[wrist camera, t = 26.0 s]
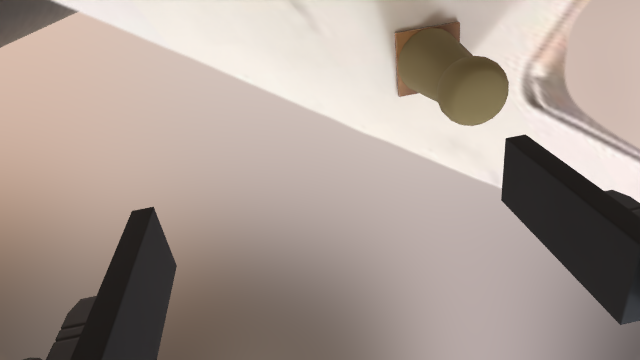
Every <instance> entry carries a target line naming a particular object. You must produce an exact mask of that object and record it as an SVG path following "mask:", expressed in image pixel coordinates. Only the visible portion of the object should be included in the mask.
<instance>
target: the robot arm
mask: <svg viewBox="0 0 640 360" xmlns="http://www.w3.org/2000/svg"><path fill="white" fill-rule="evenodd" d="M501 200H502V201H503V202H504V203H505V204H506V206H507V207H509V209H510V210H511V211H512V212H513V213H514V214H515V215H516V216H517V217H518V218H519V219H520V220H521V221H522V222H523V223H524V224H525V225H526V227H527V228H528V229H529V230H530V231H531V232H532V233H533V234H534V235H535V236H536V237H537V238H538V239H539V240H540V241H541V242H542V243H543V244H544V245H545V246H546V247H547V249H548V250H550V252H551V253H552V254H553V255H554V256H555V257H556V258H557V259H558V260H559V261H560V262H561V263H562V264H563V265H564V266H565V267H566V268H567V269H568V271H570V272H571V274H572V275H573V276H574V277H575V278H576V279H577V280H578V281H579V282H580V283H581V284H582V285H583V286H584V287H585V288H586V289H587V290H588V291H589V292H590V293H591V295H593V297H594V298H595V299H596V300H597V301H598V302H599V303H600V304H601V305H602V306H603V307H604V308H605V309H606V310H607V311H608V312H609V313H610V314H611V316H612V317H613V318H614V319H615V320H616V321H617V322H618V323H619V324H620V325H622V324H626V323H631V322H636V321H640V203H639V202H637V201H636V200H634V199H633V198H631V197H630V196H627V195H624V194H622V193H619V192H617V191H614V190H609V191H603V190H602V189H600V188H599V187H597V186H596V185H595V184H593V183H592V182H591V181H589V180H588V179H586V178H585V177H584V176H582V175H581V174H579V173H578V172H577V171H575V170H574V169H573V168H571V167H570V166H568V165H567V164H566V163H564V162H563V161H561V160H560V159H559V158H557V157H556V156H554V155H553V154H552V153H550V152H549V151H548V150H546V149H545V148H543V147H542V146H541V145H539V144H538V143H536V142H535V141H534V140H532V139H531V138H530V137H528V136H527V135H520V136H515V137H510V138H506V142H505V156H504V170H503V184H502V199H501ZM175 271H176V263H175V260H174V258H173V256H172V253H171V250H170V248H169V245H168V243H167V240H166V237H165V235H164V232H163V230H162V227H161V225H160V222H159V220H158V217H157V215H156V212H155V209H154V207H150V208H145V209H140V210H135V211H132V212H131V215H130V217H129V220H128V222H127V224H126V227H125V229H124V232H123V234H122V236H121V239H120V241H119V244H118V246H117V248H116V251H115V253H114V256H113V258H112V261H111V263H110V265H109V268H108V270H107V273H106V275H105V277H104V280H103V282H102V284H101V287H100V289H99V292H98V294H97V296H94V297H89V298H84V299H81V300H80V301H79V302H78V303H77V304H76V305H75V306H74V307H73V308H72V310H71V311H70V312H69V313H68V314H67V316H66V318H65V321H64V323H63V325H62V327H61V330H60V331H59V333H58V335H57V337H56V342H55V343H54V344H53V346H52V348H51V350H50V352H49V354H48V357H47V359H46V360H157V355H158V351H159V346H160V341H161V337H162V332H163V327H164V323H165V318H166V313H167V308H168V304H169V299H170V294H171V289H172V285H173V281H174V276H175ZM24 360H42V359H40V358H27V359H24Z"/></svg>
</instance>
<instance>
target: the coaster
mask: <svg viewBox="0 0 640 360" xmlns="http://www.w3.org/2000/svg"><path fill="white" fill-rule="evenodd" d="M429 28H438V29H443V30H445V31H447V32H449V33H450V34H451V35H452V36H453V37H454V38H455V39H456V40H457V41H458V42H460V22H453V23H448V24H442V25H437V26H431V27H425V28H420V29H414V30H409V31H403V32H397V33H395V45H396V63H397V81H398V96H399V97H401V96H406V95H412V94H417V93H418V92H416V91H414V90H412V89H410V88H408V87H407V86H406V85H405V84H404V83H403V81H402V79H401V77H400V75H399V71H398V60H399V55H400V52H401V50H402V48H403V46H404V44H405V43H406V42H407V41H408V40H409V39H410V38H411V37H412V36H413V35H414V34H416V33H418V32H420V31H421V30H425V29H429Z"/></svg>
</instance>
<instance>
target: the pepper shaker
mask: <svg viewBox="0 0 640 360" xmlns="http://www.w3.org/2000/svg"><path fill="white" fill-rule="evenodd" d="M398 71H399V75H400V77H401V79H402V81H403V83H404V84H405V85H406V86H407V87H408V88H410V89H412V90H414V91H416V92H418V93H420V94H422V95H424V96H426V97H428V98H430V99H432V100H435V101H437V102H438V103H439V106H440V108H441V110H442V112H443V113H444V114H445V115H446V116H447V117H448V118H449V119H450V120H451V121H454V122H456V123H458V124H461V125H468V126H474V125H478V124H482V123H485V122H486V121H488V120H490V119H492V118H493V117H494V116H495V115H497V114H498V113H499V112H500V110H501V109H502V107H503V106H504V104H505V102H506V99H507V96H508V83H509V82H508V79H507V76H506V73H505V72H504V70H503V69H502V68H501V67H500V66H499V65H498V63H496V62H494V61H492V60H490V59H488V58H486V57H480V56H473V55H472V54H471V53H470V52H469V51H468V50H467V49H466V48H465V47H464V46H463V45H462V44H461V43H460V42H458V41H457V40H456V39H455V38H454V37H453V36H452V35H451V34H450V33H449V32H447V31H445V30H443V29H438V28H429V29H425V30H421V31H420V32H418V33H416V34H414V35H413V36H412V37H411V38H410V39H409V40H408V41H407V42H406V43H405V44H404V46H403V48H402V50H401V52H400V55H399V60H398Z"/></svg>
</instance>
